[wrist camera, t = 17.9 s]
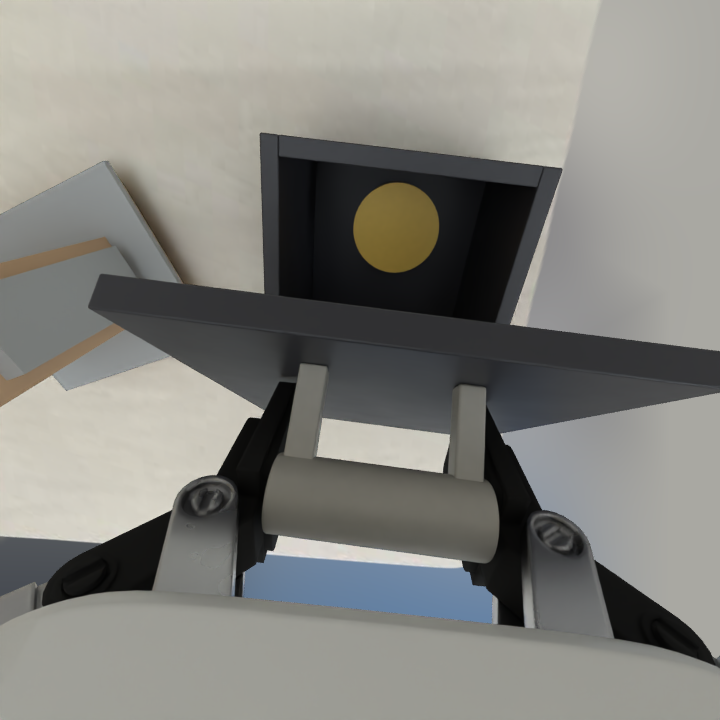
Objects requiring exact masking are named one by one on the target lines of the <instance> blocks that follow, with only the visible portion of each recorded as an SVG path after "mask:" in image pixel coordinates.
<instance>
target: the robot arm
mask: <svg viewBox="0 0 720 720" xmlns="http://www.w3.org/2000/svg"><path fill="white" fill-rule="evenodd" d="M295 389H296V383H291V382H281V381H280V382H279V383H278V385H277V387H276V389H275V391H274V393H273V395H272V397H271V399H270V401H269V403H268V405H267V407H266V409H265V411H264V413H263V415H262V417H261V419H260V418H248V420H247V421H246V423H245V425H244V426H243V428H242V430H241V432H240V434H239V435H238V437H237V439H236V441H235V443H234V445H233V446H232V448H231V450H230V452H229V454H228V456H227V457H226V459H225V461H224V463H223V465H222V466H221V468H220V470H219V472H218V474H217V475H210V476H205V477H201V478H198V479H196V480H194V481H192V482H190V483H189V484H187V485H186V486H184V487H183V488H182V490H181V491H180V492H179V493H178V494H177V497H176V499H175V501H174V505H173V509H172V510H171V511H169V512H167V513H165V514H163V515H161V516H159V517H157V518H155V519H153V520H151V521H148V522H146V523H144V524H142V525H140V526H138V527H136V528H134V529H132V530H130V531H128V532H126V533H123V534H121V535H119V536H117V537H115V538H113V539H111V540H109V541H107V542H105V543H103V544H101V545H99V546H96V547H95V548H92V549H90V550H88V551H86V552H84V553H82V554H80V555H78V556H77V557H75V558H73V559H72V560H70V561H68V562H67V563H66V564H65V565H63V566H62V567H61V568H60V569H59V570H58V571H57V572H56V573H55V574H54V575H53V576H52V578H51V579H50V580H49V581H48V582H47V583H45V584H42V585H40V586H38V587H37V585H36V583H35V582H34V583H31V584H29V585H27V586H24V587H22V588H20V589H17V590H15V591H13V592H10V593H8V594H5V595H3V596H1V597H0V720H720V656H719V657H718V658H717V659H716V658H714V657H712V655H711V653H710V651H709V650H708V648H707V647H706V645H705V644H704V643H703V641H702V640H701V639H700V638H699V637H698V635H697V634H696V633H695V632H694V631H693V630H692V629H691V628H690V627H689V626H687V625H686V624H685V623H684V622H682V621H681V620H680V619H679V618H677V617H676V616H674V615H673V614H672V613H670V612H669V611H667V610H666V609H664V608H663V607H662V606H660V605H659V604H657V603H656V602H654V601H653V600H651V599H650V598H649V597H647V596H646V595H644V594H643V593H641V592H640V591H638V590H637V589H636V588H634V587H633V586H631V585H630V584H628V583H627V582H625V581H624V580H622V579H621V578H620V577H618V576H617V575H616V574H614V573H613V572H611V571H610V570H608V569H607V568H605V567H604V566H603V565H601V564H600V563H598V562H597V561H595V560H594V558H593V554H592V550H591V546H590V543H589V541H588V539H587V537H586V536H585V534H584V533H583V532H582V530H581V529H580V528H579V527H578V526H577V525H576V524H574V523H573V522H572V521H570V520H569V519H567V518H566V517H564V516H562V515H559V514H557V513H555V512H551V511H547V510H542V509H541V507H540V505H539V503H538V501H537V499H536V497H535V495H534V493H533V491H532V489H531V487H530V485H529V483H528V481H527V479H526V476H525V474H524V472H523V470H522V468H521V466H520V464H519V462H518V460H517V458H516V456H515V454H514V452H513V450H512V449H511V447H510V446H508V445H505V443H504V441H503V439H502V437H501V435H500V433H499V431H498V428H497V426H496V424H495V422H494V420H493V418H492V416H491V414H490V412H489V409H488V407H487V405H486V417H485V452H484V479H485V480H487V481H488V482H489V483H490V484H491V485H492V487H493V489H494V492H495V495H496V499H497V503H498V510H499V538H498V544H497V549H496V552H495V554H494V557H493V558H492V560H491V561H490V562H488V563H478V562H470V561H463V560H462V564H463V568H464V570H465V571H466V572H470V575H471V580H472V584H473V585H477V586H486V589H487V590H488V591H489V592H491V593H492V594H493V598H492V624H489V623H479V622H471V621H462V620H452V619H444V618H435V617H425V616H415V615H405V614H397V613H387V612H379V611H369V610H359V609H349V608H340V607H331V606H321V605H310V604H301V603H291V602H282V601H271V600H262V599H252V598H244V583H245V581H244V580H245V571H246V570H248V569H249V568H251V567H252V566H254V565H255V564H256V562H260V563H264V560H265V556H266V553H267V550H269V551H273V550H274V548H275V545H276V542H277V538H278V535H273V534H266V533H264V532H263V529H262V507H263V500H264V494H265V489H266V485H267V481H268V477H269V474H270V471H271V468H272V465H273V463H274V461H275V459H276V457H277V455H278V454H279V453H281V452H284V450H285V444H286V439H287V433H288V428H289V422H290V417H291V411H292V406H293V400H294V395H295ZM449 446H450V444H449ZM448 464H449V448H448V451H447V455H446V459H445V462H444V467H443V474H448Z"/></svg>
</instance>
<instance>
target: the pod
mask: <svg viewBox="0 0 720 720" xmlns="http://www.w3.org/2000/svg"><path fill="white" fill-rule="evenodd" d="M353 233H354V239H355V243H356V246H357V248H358V250H359V252H360V254H361V255H362V257H363V258H364V259H365V260H366V261H367V262H368V263H369V264H370V265H372V266H373V267H375V268H377V269H379V270H382V271H385V272H393V273H396V272H404V271H407V270H410V269H412V268H414V267H416V266H418V265H419V264H421V263H422V262H423V261H424V260H425V259H426V258H427V257H428V256H429V255H430V253H431V252H432V250H433V248H434V246H435V244H436V241H437V238H438V233H439V218H438V214H437V211H436V208H435V206H434V204H433V202H432V201H431V199H430V198H429V197H428V196H427V195H426V194H425V193H424V192H423V191H422V190H421V189H419V188H417V187H415V186H413V185H411V184H409V183H406V182H403V181H390V182H386V183H384V184H381V185H380V186H378V187H377V188H375V189H374V190H373V191H372V192H371V193H369V194H368V195H367V196H366V197H365V199H364V200H363V201H362V202H361V204H360V206H359V208H358V210H357V212H356V215H355V219H354V225H353Z"/></svg>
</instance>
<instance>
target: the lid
mask: <svg viewBox="0 0 720 720" xmlns="http://www.w3.org/2000/svg"><path fill="white" fill-rule="evenodd" d="M88 308H89V309H90V310H92V311H94V312H96V313H97V314H99V315H101V316H102V317H104V318H106V319H108V320H109V321H111V322H113V323H115V324H116V325H118V326H120V327H121V328H123V329H125V330H127V331H128V332H130V333H132V334H134V335H135V336H137V337H139V338H141V339H142V340H144V341H146V342H147V343H149V344H151V345H153V346H154V347H156V348H158V349H160V350H161V351H163V352H165V353H166V354H168V355H170V356H172V357H173V358H175V359H177V360H179V361H180V362H182V363H184V364H186V365H187V366H189V367H191V368H192V369H194V370H196V371H198V372H199V373H201V374H203V375H205V376H206V377H208V378H210V379H211V380H213V381H215V382H217V383H218V384H220V385H222V386H224V387H225V388H227V389H229V390H231V391H232V392H234V393H236V394H237V395H239V396H241V397H243V398H244V399H246V400H248V401H250V402H251V403H253V404H255V405H256V406H258V407H260V408H262V409H263V410H265V409H266V407H267V405H268V403H269V401H270V399H271V397H272V395H273V393H274V391H275V389H276V387H277V385H278V383H279V382H280V381H281V382H291V383H296V389H295V395H294V400H293V406H292V411H291V417H290V422H289V428H288V433H287V439H286V444H285V450H284V452H281V453H279V454H278V455H277V457H276V459H275V461H274V463H273V465H272V468H271V471H270V474H269V477H268V481H267V485H266V489H265V494H264V500H263V507H262V529H263V532H264V533H266V534H273V535H280V536H287V537H295V538H302V539H309V540H316V541H324V542H331V543H338V544H346V545H353V546H360V547H368V548H375V549H382V550H390V551H397V552H404V553H412V554H419V555H426V556H434V557H441V558H448V559H456V560H463V561H470V562H478V563H488V562H490V561H491V560H492V558H493V557H494V554H495V552H496V549H497V544H498V538H499V510H498V503H497V499H496V495H495V492H494V489H493V487H492V485H491V484H490V483H489V482H488V481H487V480H485V479H484V452H485V417H486V405H487V407H488V409H489V412H490V414H491V416H492V418H493V420H494V422H495V424H496V426H497V428H498V431H499V433H506V432H510V431H516V430H522V429H527V428H532V427H537V426H543V425H548V424H554V423H559V422H564V421H570V420H575V419H580V418H586V417H591V416H597V415H601V414H607V413H613V412H618V411H623V410H629V409H634V408H640V407H644V406H650V405H656V404H661V403H667V402H671V401H677V400H682V399H688V398H693V397H699V396H704V395H709V394H715V393H720V351H713V350H705V349H697V348H689V347H681V346H673V345H666V344H658V343H650V342H642V341H634V340H626V339H618V338H610V337H601V336H594V335H586V334H578V333H570V332H562V331H554V330H547V329H539V328H530V327H523V326H515V325H507V324H499V323H491V322H483V321H475V320H467V319H459V318H451V317H443V316H435V315H427V314H420V313H412V312H404V311H396V310H388V309H380V308H372V307H364V306H356V305H348V304H340V303H332V302H324V301H316V300H308V299H300V298H292V297H285V296H277V295H269V294H261V293H253V292H245V291H237V290H229V289H221V288H213V287H205V286H197V285H189V284H181V283H173V282H165V281H157V280H150V279H142V278H134V277H126V276H118V275H110V274H100V275H99V278H98V280H97V283H96V286H95V288H94V291H93V294H92V296H91V299H90V302H89V304H88ZM322 418H328V419H336V420H344V421H351V422H359V423H366V424H374V425H382V426H389V427H397V428H405V429H412V430H420V431H428V432H435V433H443V434H450V446H449V464H448V474H443V473H436V472H428V471H421V470H413V469H406V468H398V467H391V466H383V465H376V464H368V463H361V462H353V461H346V460H338V459H331V458H323V457H316V455H317V448H318V442H319V435H320V429H321V423H322Z"/></svg>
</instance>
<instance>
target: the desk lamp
mask: <svg viewBox="0 0 720 720" xmlns="http://www.w3.org/2000/svg"><path fill="white" fill-rule="evenodd" d="M100 274H110V275H118V276H126V277H134V278H142V279H150V280H157V281H165V282H173V283H181V284H184V283H183V282H182V280H181V278H180V277H179V275H178V273H177V272H176V270H175V268H174V267H173V265H172V264H171V262H170V260H169V259H168V257H167V255H166V254H165V252H164V250H163V249H162V247H161V245H160V244H159V242H158V240H157V239H156V237H155V235H154V234H153V232H152V230H151V229H150V227H149V226H148V224H147V222H146V221H145V219H144V217H143V216H142V214H141V212H140V211H139V209H138V207H137V206H136V204H135V202H134V201H133V199H132V197H131V196H130V194H129V193H128V191H127V189H126V188H125V186H124V184H122V183H121V181H120V179H119V178H118V176H117V174H116V173H115V171H114V169H113V168H112V166H111V165H110V163H109V161H102V162H100V163H98V164H96V165H95V166H93V167H91V168H89V169H87V170H85V171H83V172H81V173H79V174H77V175H75V176H73V177H71V178H69V179H68V180H66V181H64V182H62V183H60V184H58V185H56V186H54V187H52V188H50V189H48V190H46V191H44V192H42V193H41V194H39V195H37V196H35V197H33V198H31V199H29V200H27V201H25V202H23V203H21V204H19V205H17V206H15V207H14V208H12V209H10V210H8V211H6V212H4V213H2V214H0V407H1V406H3V405H4V404H6V403H7V402H9V401H11V400H12V399H14V398H15V397H17V396H19V395H20V394H22V393H24V392H25V391H27V390H28V389H30V388H32V387H33V386H35V385H36V384H38V383H40V382H41V381H43V380H44V379H46V378H48V377H49V376H51V375H53V376H54V378H55V379H56V380H57V381H58V382H59V383H60V384H61V385H62V387H63V388H64V389H65V390H66V391H67V390H70V389H73V388H76V387H79V386H82V385H85V384H88V383H91V382H94V381H97V380H100V379H103V378H106V377H109V376H112V375H115V374H118V373H121V372H124V371H127V370H130V369H133V368H136V367H139V366H142V365H145V364H148V363H151V362H154V361H157V360H160V359H163V358H166V357H169V356H170V355H168V354H166V353H165V352H163V351H161V350H160V349H158V348H156V347H154V346H153V345H151V344H149V343H147V342H146V341H144V340H142V339H141V338H139V337H137V336H135V335H134V334H132V333H130V332H128V331H127V330H125V329H123V328H121V327H120V326H118V325H116V324H115V323H113V322H111V321H109V320H108V319H106V318H104V317H102V316H101V315H99V314H97V313H96V312H94V311H92V310H90V309H89V308H88V304H89V302H90V299H91V296H92V294H93V291H94V288H95V286H96V283H97V280H98V278H99V275H100Z"/></svg>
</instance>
